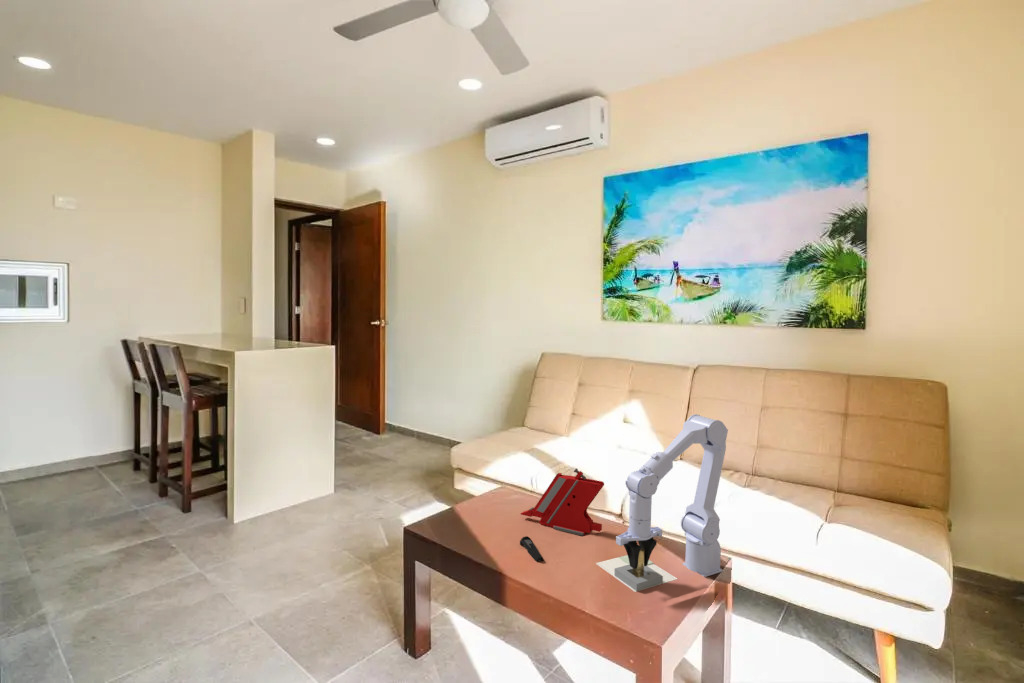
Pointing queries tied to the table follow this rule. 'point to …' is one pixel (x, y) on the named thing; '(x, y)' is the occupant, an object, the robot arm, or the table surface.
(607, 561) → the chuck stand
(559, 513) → the tool
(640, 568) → the brass cylinder
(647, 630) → the table surface
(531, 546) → the electric trimmer
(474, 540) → the table surface
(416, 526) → the table surface
